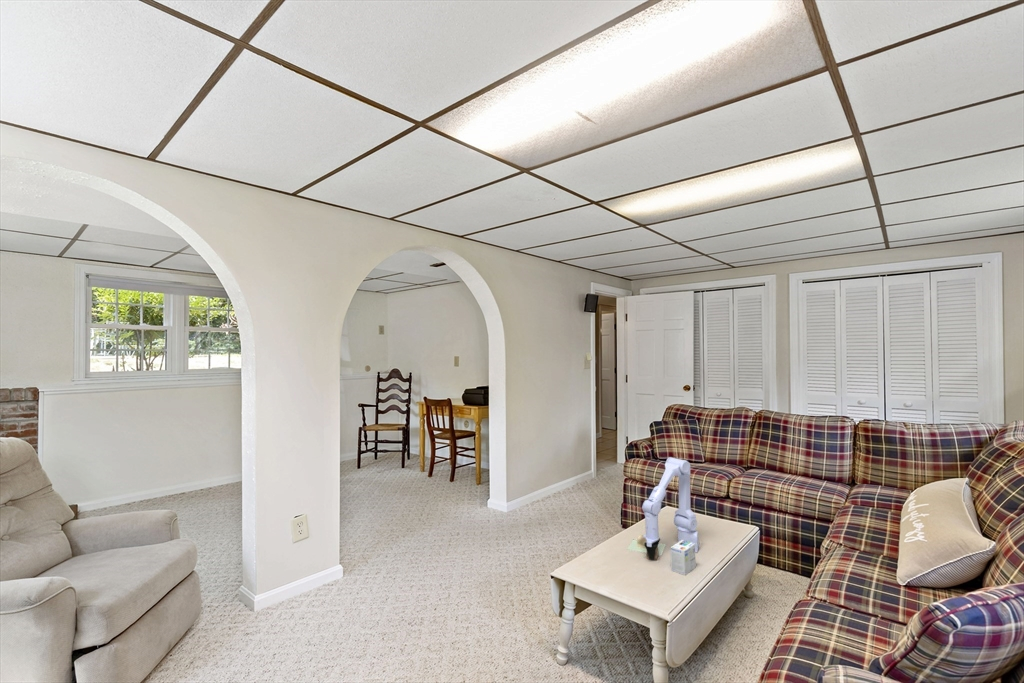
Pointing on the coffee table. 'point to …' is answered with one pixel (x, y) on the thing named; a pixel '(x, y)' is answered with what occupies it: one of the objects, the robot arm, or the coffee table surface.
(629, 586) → the coffee table surface
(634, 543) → the plate
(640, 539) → the maple base brick
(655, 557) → the walnut brick
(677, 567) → the light bulb box
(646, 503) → the robot arm
